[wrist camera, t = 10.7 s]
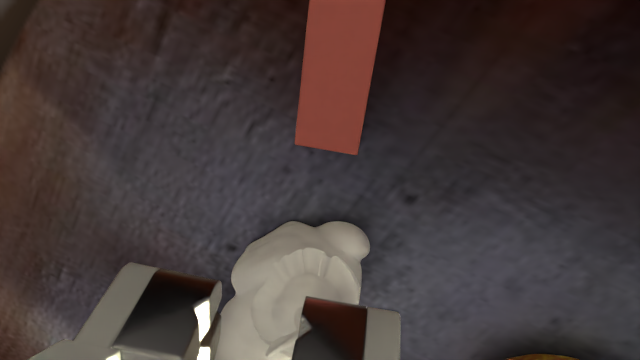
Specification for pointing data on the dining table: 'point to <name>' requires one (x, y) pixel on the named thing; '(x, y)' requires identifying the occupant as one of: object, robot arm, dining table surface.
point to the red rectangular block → (337, 72)
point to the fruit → (541, 357)
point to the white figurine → (288, 286)
